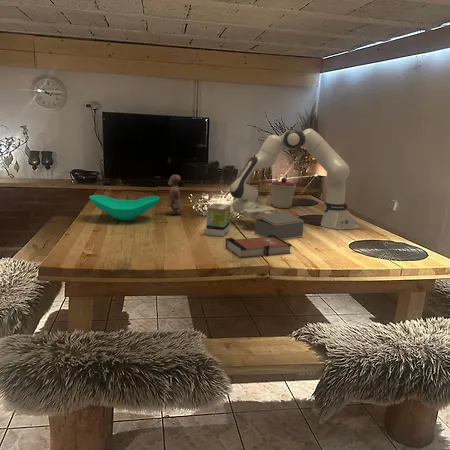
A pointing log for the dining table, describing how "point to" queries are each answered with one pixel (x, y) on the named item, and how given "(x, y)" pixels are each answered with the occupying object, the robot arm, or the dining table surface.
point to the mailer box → (278, 229)
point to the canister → (282, 193)
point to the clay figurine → (174, 194)
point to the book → (258, 246)
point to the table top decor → (124, 206)
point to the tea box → (218, 219)
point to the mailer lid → (279, 218)
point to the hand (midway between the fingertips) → (268, 215)
